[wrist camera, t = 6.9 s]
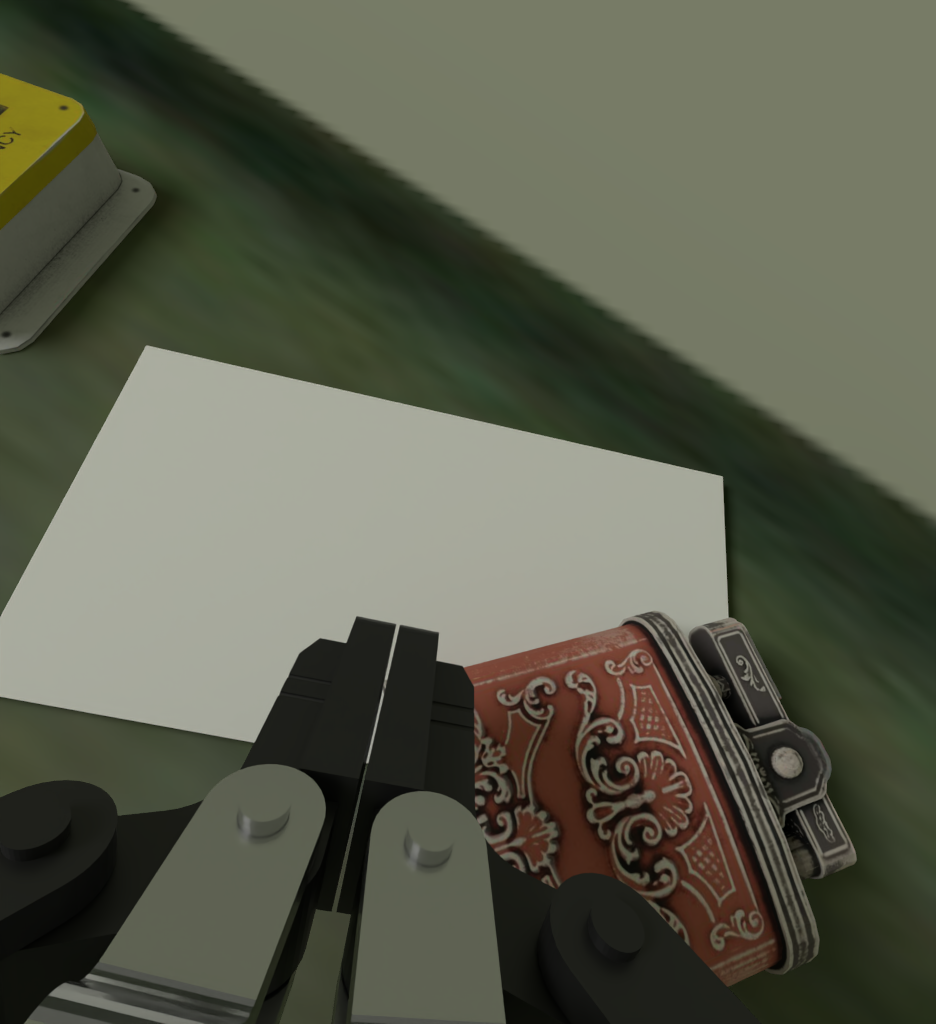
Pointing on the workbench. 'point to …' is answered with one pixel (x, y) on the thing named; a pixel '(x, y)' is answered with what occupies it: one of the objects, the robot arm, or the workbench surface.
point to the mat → (331, 544)
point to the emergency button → (55, 207)
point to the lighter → (662, 783)
